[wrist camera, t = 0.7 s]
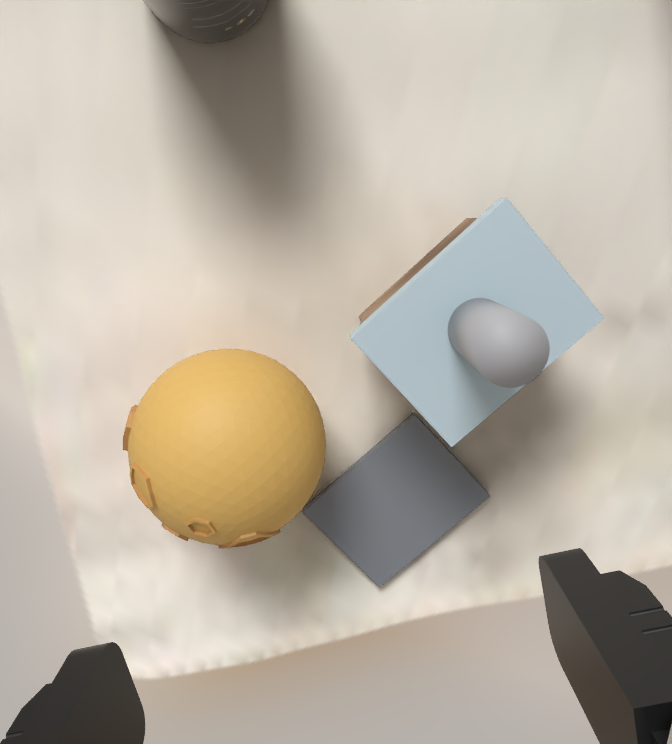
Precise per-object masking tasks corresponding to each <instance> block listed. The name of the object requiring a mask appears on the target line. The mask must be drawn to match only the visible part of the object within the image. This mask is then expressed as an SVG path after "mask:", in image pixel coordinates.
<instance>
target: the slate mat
mask: <svg viewBox="0 0 672 744" xmlns="http://www.w3.org/2000/svg"><path fill="white" fill-rule="evenodd" d="M489 497H490V495H489V494H488V492H487V491H486V490H485V489H484V488H483V487H482V486H481V485H480V484H479V483H478V481H477V480H476V479H475V478H474V477H473V476H472V475H471V474H470V473H469V472H468V471H467V470H466V469H465V468H464V466H463V465H462V464H461V463H460V462H459V461H458V460H457V459H456V458H455V457H454V456H453V455H452V454H451V453H450V451H449V450H448V449H447V448H446V447H445V446H444V445H443V444H442V443H441V442H440V441H439V440H438V439H437V437H436V436H435V435H434V434H433V433H432V432H431V431H430V430H429V429H428V428H427V427H426V426H425V425H424V424H423V422H422V421H421V420H420V419H419V418H418V417H417V416H416V415H415V414H414V413H413V414H411V415H410V416H409V417H408V418H407V419H406V420H405V421H403V422H402V423H401V424H400V425H399V426H398V427H396V428H395V429H394V430H393V431H392V432H391V433H389V434H388V435H387V436H386V437H385V438H384V439H383V440H381V441H380V442H379V443H378V444H377V445H376V446H374V447H373V448H372V449H371V450H370V451H369V452H367V453H366V454H365V455H364V456H363V457H362V458H361V459H359V460H358V461H357V462H356V463H355V464H354V465H352V466H351V467H350V468H349V469H348V470H347V471H346V472H344V473H343V474H342V475H341V476H340V477H339V478H337V479H336V480H335V481H334V482H333V483H332V484H330V485H329V486H328V487H327V488H326V489H325V490H324V491H322V492H321V493H320V494H319V495H318V496H317V497H315V498H314V499H313V500H312V501H311V502H310V503H308V504H307V505H306V506H305V507H304V508H303V513H304V514H305V515H306V516H307V517H308V518H309V519H310V520H311V521H312V522H313V523H314V524H315V525H316V526H317V527H318V528H319V529H320V530H321V531H322V532H323V533H324V534H325V535H326V536H327V537H328V538H329V539H330V540H331V541H332V542H333V543H334V544H335V545H336V546H337V547H338V548H339V549H341V550H342V551H343V552H344V553H345V554H346V555H347V556H348V557H349V558H350V559H351V560H352V561H353V562H354V563H355V564H356V565H357V566H358V567H359V568H360V569H361V570H362V571H363V572H364V573H365V574H366V575H367V576H368V577H369V578H370V579H371V580H372V581H373V582H374V583H375V584H376V585H378V586H379V587H380V586H381V585H383V584H384V583H385V582H386V581H387V580H389V579H390V578H391V577H392V576H394V575H395V574H396V573H397V572H398V571H400V570H401V569H402V568H403V567H405V566H406V565H407V564H408V563H409V562H411V561H412V560H413V559H414V558H416V557H417V556H418V555H419V554H420V553H422V552H423V551H424V550H425V549H427V548H428V547H429V546H430V545H431V544H433V543H434V542H435V541H436V540H437V539H439V538H440V537H441V536H442V535H444V534H445V533H446V532H447V531H448V530H450V529H451V528H452V527H453V526H455V525H456V524H457V523H458V522H459V521H461V520H462V519H463V518H464V517H466V516H467V515H468V514H469V513H470V512H472V511H473V510H474V509H475V508H476V507H478V506H479V505H480V504H481V503H483V502H484V501H485V500H486V499H487V498H489Z"/></svg>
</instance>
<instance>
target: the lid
mask: <svg viewBox="0 0 672 744" xmlns="http://www.w3.org/2000/svg"><path fill="white" fill-rule="evenodd" d="M603 319H604V317H603V315H602V314H601V313H600V312H599V311H598V309H597V308H596V307H595V306H594V304H593V303H592V302H591V301H590V299H589V298H588V297H587V296H586V295H585V293H584V292H583V291H582V290H581V288H580V287H579V286H578V285H577V283H576V282H575V281H574V280H573V279H572V277H571V276H570V275H569V274H568V272H567V271H566V270H565V269H564V267H563V266H562V265H561V264H560V262H559V261H558V260H557V259H556V258H555V256H554V255H553V254H552V253H551V251H550V250H549V249H548V248H547V246H546V245H545V244H544V243H543V242H542V240H541V239H540V238H539V237H538V235H537V234H536V233H535V232H534V230H533V229H532V228H531V227H530V226H529V224H528V223H527V222H526V221H525V219H524V218H523V217H522V216H521V214H520V213H519V212H518V211H517V209H516V208H515V207H514V206H513V205H512V203H511V202H510V201H509V200H508V198H501V199H498V200H497V201H496V202H495V203H494V204H493V205H492V206H491V207H490V208H488V209H487V210H486V211H485V212H484V213H483V214H482V215H481V216H480V217H479V218H477V219H476V220H475V221H474V222H473V223H472V224H471V225H470V226H469V227H467V228H466V229H465V230H464V231H463V232H462V233H461V234H460V235H459V236H458V237H456V238H455V239H454V240H453V241H452V242H451V243H450V244H449V245H448V246H446V247H445V248H444V249H443V250H442V251H441V252H440V253H439V254H438V255H437V256H435V257H434V258H433V259H432V260H431V261H430V262H429V263H428V264H427V265H425V266H424V267H423V268H422V269H421V270H420V271H419V272H418V273H417V274H416V275H414V276H413V277H412V278H411V279H410V280H409V281H408V282H407V283H406V284H404V285H403V286H402V287H401V288H400V289H399V290H398V291H397V292H396V293H395V294H393V295H392V296H391V297H390V298H389V299H388V300H387V301H386V302H385V303H383V304H382V305H381V306H380V307H379V308H378V309H377V310H376V311H375V312H374V313H372V314H371V315H370V316H369V317H368V318H367V319H366V320H365V321H364V322H362V323H361V324H360V325H359V326H358V327H357V328H356V329H355V330H354V331H353V332H351V333H350V338H351V340H352V341H353V342H354V343H355V344H356V345H357V346H358V347H359V348H360V349H361V350H362V351H363V353H364V354H365V355H366V356H367V357H368V358H369V359H370V360H371V361H372V362H373V363H374V364H375V365H376V367H377V368H378V369H379V370H380V371H381V372H382V373H383V374H384V375H385V376H386V377H387V378H388V379H389V380H390V382H391V383H392V384H393V385H394V386H395V387H396V388H397V389H398V390H399V391H400V392H401V393H402V394H403V396H404V397H405V398H406V399H407V400H408V401H409V402H410V403H411V404H412V405H413V406H414V407H415V408H416V410H417V411H418V412H419V413H420V414H421V415H422V416H423V417H424V418H425V419H426V420H427V421H428V422H429V424H430V425H431V426H432V427H433V428H434V429H435V430H436V431H437V432H438V433H439V434H440V435H441V436H442V438H443V439H444V440H445V441H446V442H447V443H448V444H449V445H450V446H451V447H453V446H454V445H455V444H456V443H457V442H458V441H460V440H461V439H462V438H463V437H464V436H466V435H467V434H468V433H469V432H470V431H471V430H473V429H474V428H475V427H476V426H477V425H479V424H480V423H481V422H482V421H483V420H484V419H486V418H487V417H488V416H489V415H490V414H492V413H493V412H494V411H495V410H496V409H498V408H499V407H500V406H501V405H502V404H503V403H505V402H506V401H507V400H508V399H509V398H511V397H512V396H513V395H514V394H515V393H516V392H518V391H519V390H520V389H521V388H522V387H524V386H525V385H526V384H528V383H529V382H531V381H533V380H534V379H535V378H536V377H537V376H538V375H539V374H540V373H541V372H542V371H543V370H544V369H545V368H546V367H547V366H548V365H550V364H551V363H552V362H553V361H554V360H556V359H557V358H558V357H559V356H560V355H561V354H563V353H564V352H565V351H566V350H567V349H569V348H570V347H571V346H572V345H573V344H575V343H576V342H577V341H578V340H579V339H580V338H582V337H583V336H584V335H585V334H586V333H588V332H589V331H590V330H591V329H592V328H593V327H595V326H596V325H597V324H598V323H599V322H601V321H602V320H603Z"/></svg>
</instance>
